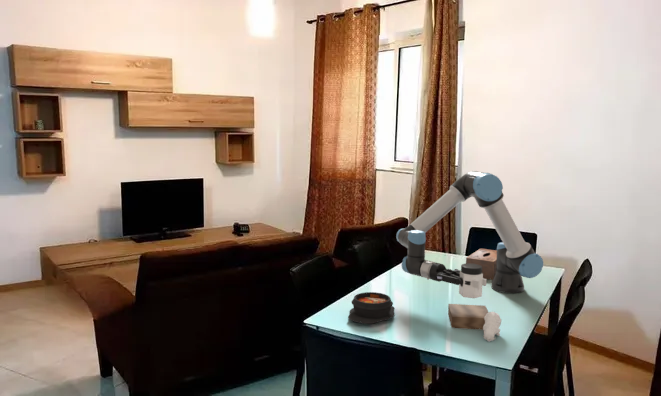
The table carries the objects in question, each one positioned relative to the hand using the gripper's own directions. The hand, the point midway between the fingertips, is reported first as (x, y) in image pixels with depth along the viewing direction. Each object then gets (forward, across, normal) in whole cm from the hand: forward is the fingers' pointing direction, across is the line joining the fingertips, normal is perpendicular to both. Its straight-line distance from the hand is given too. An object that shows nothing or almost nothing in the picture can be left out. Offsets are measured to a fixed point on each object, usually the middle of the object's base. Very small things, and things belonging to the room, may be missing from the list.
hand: (482, 283), depth 199 cm
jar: (-5, 0, -6) cm, 8 cm away
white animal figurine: (+9, +7, -17) cm, 21 cm away
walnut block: (-5, 0, -18) cm, 18 cm away
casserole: (-34, +26, -18) cm, 46 cm away
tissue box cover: (-41, -71, -18) cm, 84 cm away
